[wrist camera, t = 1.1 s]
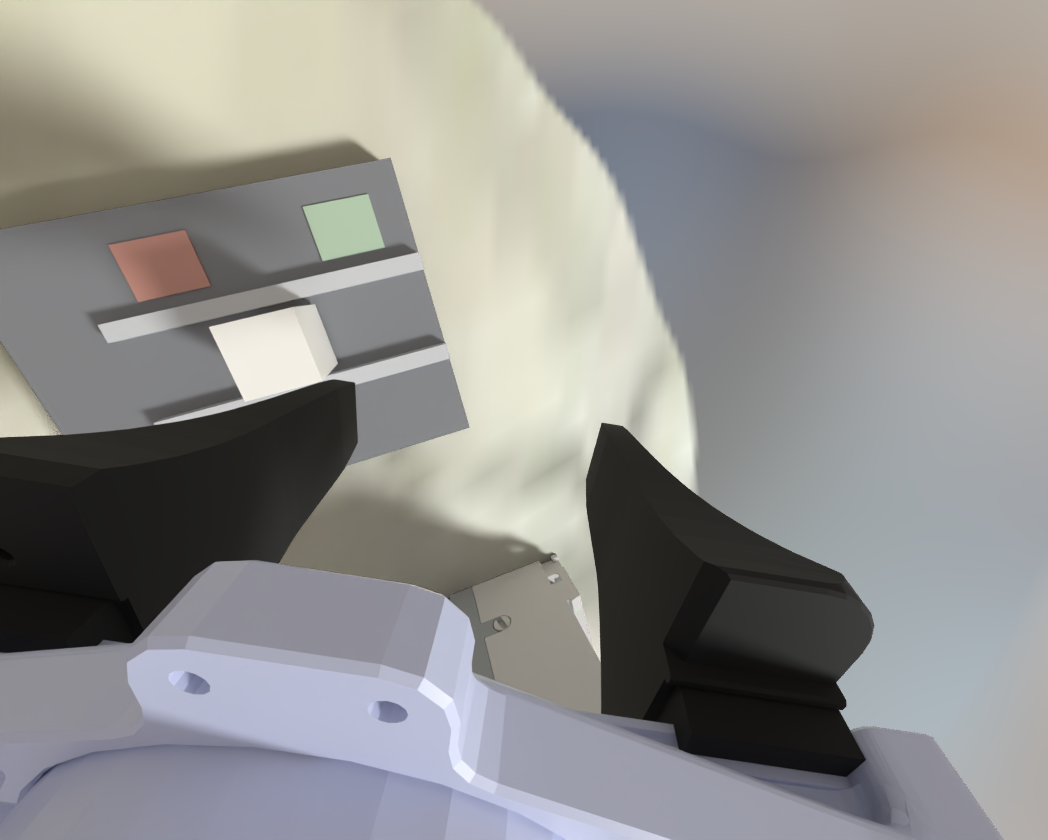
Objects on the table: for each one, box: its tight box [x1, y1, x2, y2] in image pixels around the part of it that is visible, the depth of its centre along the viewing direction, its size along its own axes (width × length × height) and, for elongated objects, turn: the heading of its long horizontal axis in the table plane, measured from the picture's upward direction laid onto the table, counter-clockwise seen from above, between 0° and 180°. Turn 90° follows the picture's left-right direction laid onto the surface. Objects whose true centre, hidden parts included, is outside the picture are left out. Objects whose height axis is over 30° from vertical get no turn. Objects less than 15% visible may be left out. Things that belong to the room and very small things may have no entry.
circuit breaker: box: [450, 554, 601, 714], centre depth 24 cm, size 8×14×15 cm, turn 104°
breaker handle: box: [209, 304, 338, 402], centre depth 19 cm, size 3×3×5 cm
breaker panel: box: [0, 158, 469, 466], centre depth 21 cm, size 18×14×3 cm
